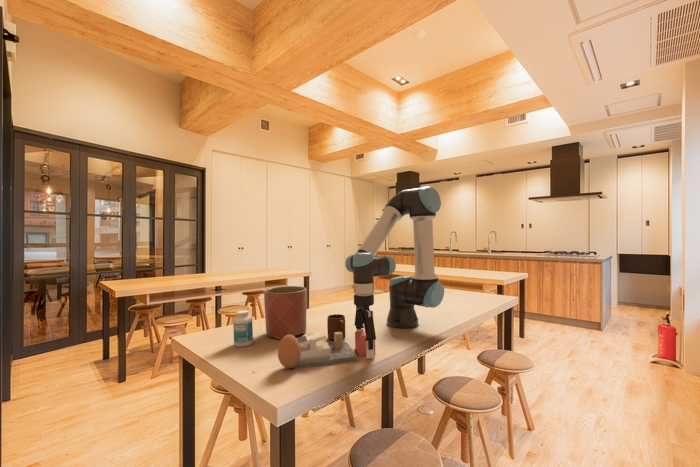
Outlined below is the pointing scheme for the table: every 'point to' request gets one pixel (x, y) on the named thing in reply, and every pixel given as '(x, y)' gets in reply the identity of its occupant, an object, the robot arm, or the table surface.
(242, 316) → the pill bottle
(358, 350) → the red block
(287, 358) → the egg
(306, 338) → the rocker
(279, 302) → the planter
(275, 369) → the table surface
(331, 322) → the mug
